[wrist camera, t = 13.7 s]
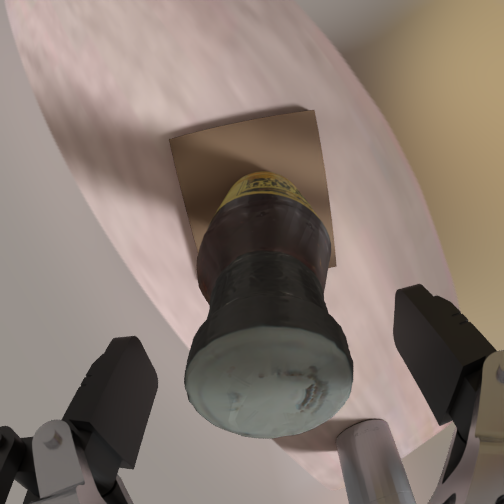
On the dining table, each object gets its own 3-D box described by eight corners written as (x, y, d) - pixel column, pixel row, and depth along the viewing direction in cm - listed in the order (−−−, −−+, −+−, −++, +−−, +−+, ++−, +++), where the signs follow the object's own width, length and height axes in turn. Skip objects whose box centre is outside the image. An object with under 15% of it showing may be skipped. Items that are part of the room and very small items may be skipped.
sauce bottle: (314, 199, 24) (454, 365, 6) (269, 254, 26) (300, 475, 8) (251, 151, 23) (257, 212, 5) (207, 212, 25) (114, 406, 6)
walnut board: (333, 261, 28) (336, 266, 27) (210, 284, 29) (209, 290, 28) (311, 111, 23) (314, 109, 22) (172, 139, 24) (169, 139, 22)
